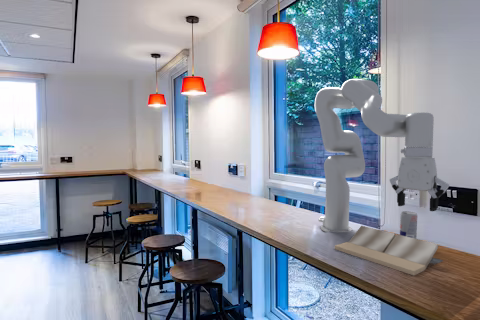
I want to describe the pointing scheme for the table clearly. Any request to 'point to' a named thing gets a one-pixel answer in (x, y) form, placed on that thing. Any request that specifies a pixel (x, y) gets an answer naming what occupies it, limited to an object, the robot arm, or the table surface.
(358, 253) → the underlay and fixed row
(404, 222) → the energy drink
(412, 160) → the robot arm
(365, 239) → the beige wavy flat plate
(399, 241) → the cream wavy panel
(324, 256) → the table surface
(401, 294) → the table surface
